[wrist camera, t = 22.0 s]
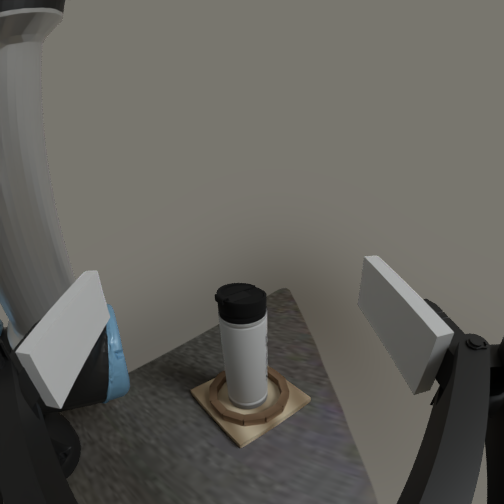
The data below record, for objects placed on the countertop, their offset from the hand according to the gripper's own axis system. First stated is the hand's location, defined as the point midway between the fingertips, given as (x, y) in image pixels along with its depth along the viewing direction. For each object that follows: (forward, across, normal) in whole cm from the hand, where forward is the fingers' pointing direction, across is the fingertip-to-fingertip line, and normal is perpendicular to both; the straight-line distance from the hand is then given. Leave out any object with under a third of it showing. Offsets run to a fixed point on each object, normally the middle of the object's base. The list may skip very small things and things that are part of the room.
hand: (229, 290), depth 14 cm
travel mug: (+20, 0, -31) cm, 37 cm away
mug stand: (+20, +1, -32) cm, 38 cm away
